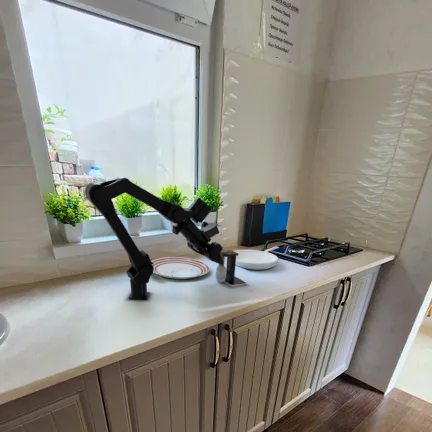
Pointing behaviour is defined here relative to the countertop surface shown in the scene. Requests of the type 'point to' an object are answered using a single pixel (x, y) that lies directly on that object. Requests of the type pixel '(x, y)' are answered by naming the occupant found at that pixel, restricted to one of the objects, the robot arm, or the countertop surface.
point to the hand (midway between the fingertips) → (216, 260)
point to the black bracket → (231, 268)
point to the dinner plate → (178, 266)
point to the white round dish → (256, 259)
